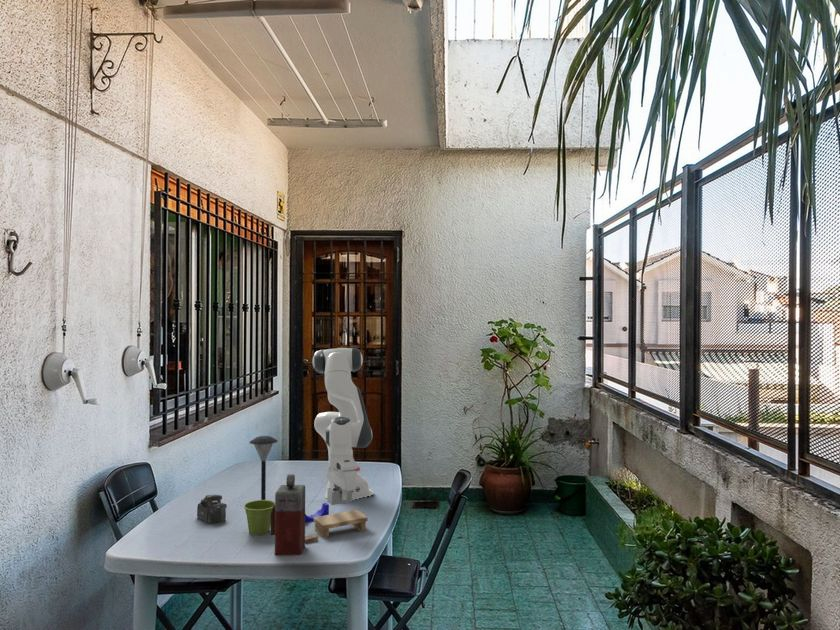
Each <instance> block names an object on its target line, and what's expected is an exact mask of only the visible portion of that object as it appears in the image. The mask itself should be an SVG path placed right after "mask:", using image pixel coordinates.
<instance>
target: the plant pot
mask: <svg viewBox="0 0 840 630" xmlns="http://www.w3.org/2000/svg"><path fill="white" fill-rule="evenodd" d="M274 504H275V501H274V500H273V501H272V500H267V499H265V500H261V499H257V500H252V501H248V502H246V503H244V504H243V508H244V509H245V511H244V512H245V514H246V519H247V528H248V534H249V535H251V536H261V535H266V534H268V533H269V532H270V531H271V511H272V508H273V506H274Z"/></svg>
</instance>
